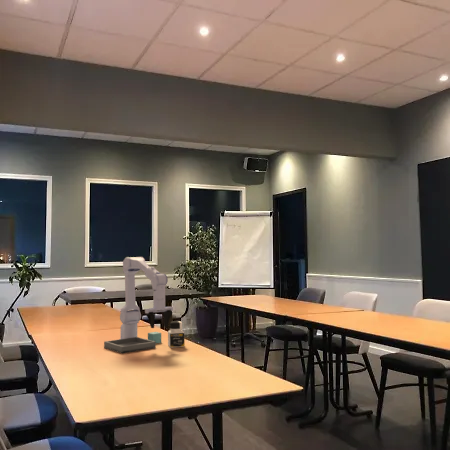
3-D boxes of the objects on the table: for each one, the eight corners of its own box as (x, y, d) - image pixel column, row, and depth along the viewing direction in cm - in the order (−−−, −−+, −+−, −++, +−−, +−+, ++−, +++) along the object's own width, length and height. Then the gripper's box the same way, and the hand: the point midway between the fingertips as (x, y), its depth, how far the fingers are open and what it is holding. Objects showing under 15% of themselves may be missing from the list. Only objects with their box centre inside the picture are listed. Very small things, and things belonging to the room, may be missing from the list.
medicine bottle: (170, 347, 223) (170, 322, 224) (167, 345, 230) (167, 320, 231) (184, 346, 225) (184, 322, 226) (182, 344, 232) (181, 320, 233)
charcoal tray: (104, 347, 225) (104, 341, 225) (136, 342, 237) (136, 336, 237) (122, 353, 211) (122, 346, 212) (155, 347, 223) (155, 341, 223)
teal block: (147, 342, 237) (147, 332, 237) (156, 341, 240) (156, 331, 241) (153, 344, 233) (153, 334, 234) (161, 342, 237) (161, 332, 237)
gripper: (150, 300, 217) (150, 329, 216) (176, 298, 226) (176, 326, 225) (142, 299, 222) (142, 327, 221) (168, 297, 231) (168, 324, 230)
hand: (159, 327), depth 223 cm, fingers open, 7 cm apart
